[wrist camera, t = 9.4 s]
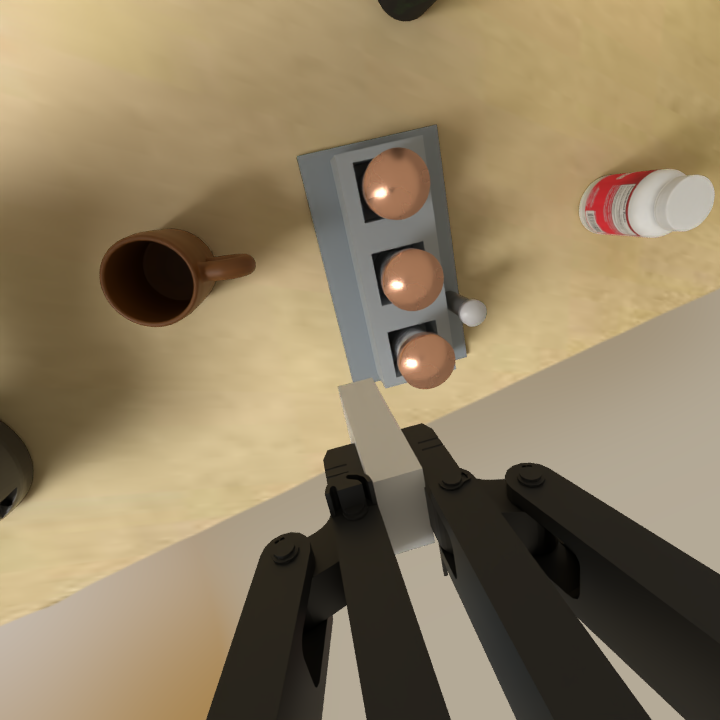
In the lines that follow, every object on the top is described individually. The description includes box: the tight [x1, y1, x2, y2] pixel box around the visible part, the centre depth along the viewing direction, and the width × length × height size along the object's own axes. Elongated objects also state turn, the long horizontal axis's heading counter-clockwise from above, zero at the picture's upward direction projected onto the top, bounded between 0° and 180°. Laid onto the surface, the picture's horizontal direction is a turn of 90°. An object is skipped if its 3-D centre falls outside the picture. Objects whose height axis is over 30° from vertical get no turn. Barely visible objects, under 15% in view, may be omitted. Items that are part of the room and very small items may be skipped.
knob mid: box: [374, 248, 444, 311], centre depth 40 cm, size 5×5×8 cm
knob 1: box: [357, 147, 430, 220], centre depth 37 cm, size 5×5×8 cm
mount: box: [297, 125, 467, 388], centre depth 42 cm, size 14×25×5 cm, turn 12°
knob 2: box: [388, 324, 455, 389], centre depth 43 cm, size 5×5×8 cm
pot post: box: [445, 291, 487, 327], centre depth 43 cm, size 3×3×7 cm
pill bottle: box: [579, 169, 715, 238], centre depth 41 cm, size 6×6×11 cm
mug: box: [100, 229, 256, 327], centre depth 37 cm, size 12×8×9 cm, turn 98°
